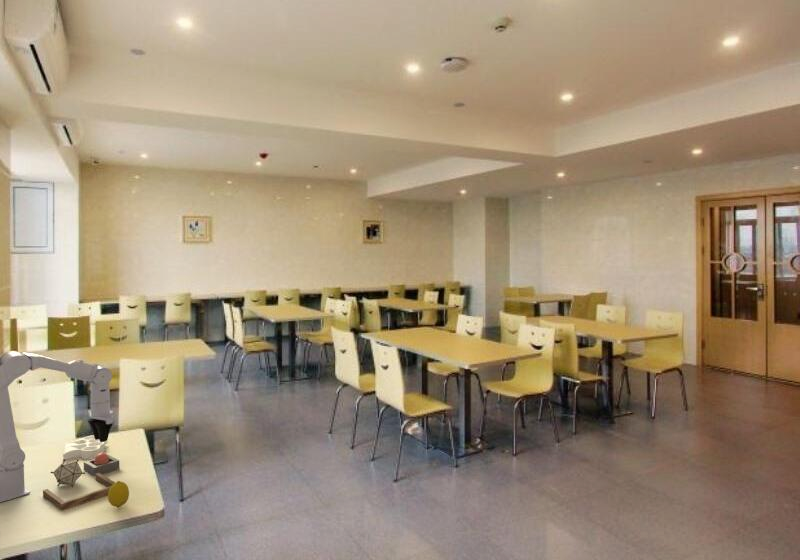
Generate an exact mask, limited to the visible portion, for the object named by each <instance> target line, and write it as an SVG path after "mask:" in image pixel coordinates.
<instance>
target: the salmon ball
mask: <svg viewBox="0 0 800 560" xmlns="http://www.w3.org/2000/svg"><path fill="white" fill-rule="evenodd" d="M108 455H109V454H107V453H106V452H102V453H99V454H97V455H96V457H95V458H93V459H94V465H96V466H98V465H101V464H105V463H108V462H109V457H108Z"/></svg>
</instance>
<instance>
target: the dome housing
mask: <svg viewBox="0 0 800 560" xmlns="http://www.w3.org/2000/svg"><path fill="white" fill-rule="evenodd" d="M107 455H108V457H109V462H108V463H105V464H101V465H98V466H96V465H94V459H95V458H92V459H87V460H85V461H83V471H84V470H85V471H84V472H85V473H87V472H88V473H87V474H89V473H90V475H91V476H92V475H93V477H95V474H97V473H100V474H102V475H104V473H105V474H109V473H111V472H114V471H117V469H118V470H120V460H119V459H117V458H116V457H113V456H112V455H110V454H107Z"/></svg>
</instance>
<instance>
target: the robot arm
mask: <svg viewBox="0 0 800 560" xmlns="http://www.w3.org/2000/svg"><path fill="white" fill-rule="evenodd" d="M37 369H45V370H46V369H47V370H52V371H57V372H62V373H63V372H64V373H65V375H66V376H67V378H71V379H75V380H79V381H84V382H90V410H88V411H87V413H88V417H90V419H87V423H88V424H89V426H90V428H91V430H92V434H93V435H94V438H95V440H97V439H99V440H100V442H105V441H107V442H108V440H109V435H110V430H111V428H112V427H113V425H114V423H115V420H114V417H113V415H114V411H113V410H111V396H110V395H111V393H110V392H111V391H110V390H111V389H110V382H111V381H112V379H113V374H112V371H110V369H109V368H107V367H104V366H102V365H99V364H98V363H93V364H92V363H89V362H85V360H83V359H80V358H79V359H77V360H72V361H69V362H67V361H63V360H59V359H55V358H51V357H47V356H45V355H44V356H43V355H41V354H37V353H29V352H21V353H20V352H19V351H17V350H10V351H7V352H5V353H3V354H2V355H1V356H0V503H3V502H6V501H9V500H13V499H17V498H19V497H23V496H26V495H28V494H30V493H31V491H29V490H28V489H27V488H25V460H26V452H25V451H23V450H22V448H21V445H20V442H19V439H18V436H17V433H16V428H15V421H14V415H13V411H12V410H13V409H12V403H11V399H10V394H9V393H10V392H9V386H10V385H11V384H13V382H14V381H15V380H16V379H18V378H20V377H21V376H23V375H26V374H27V373H28V372H29V371H36V370H37Z"/></svg>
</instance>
